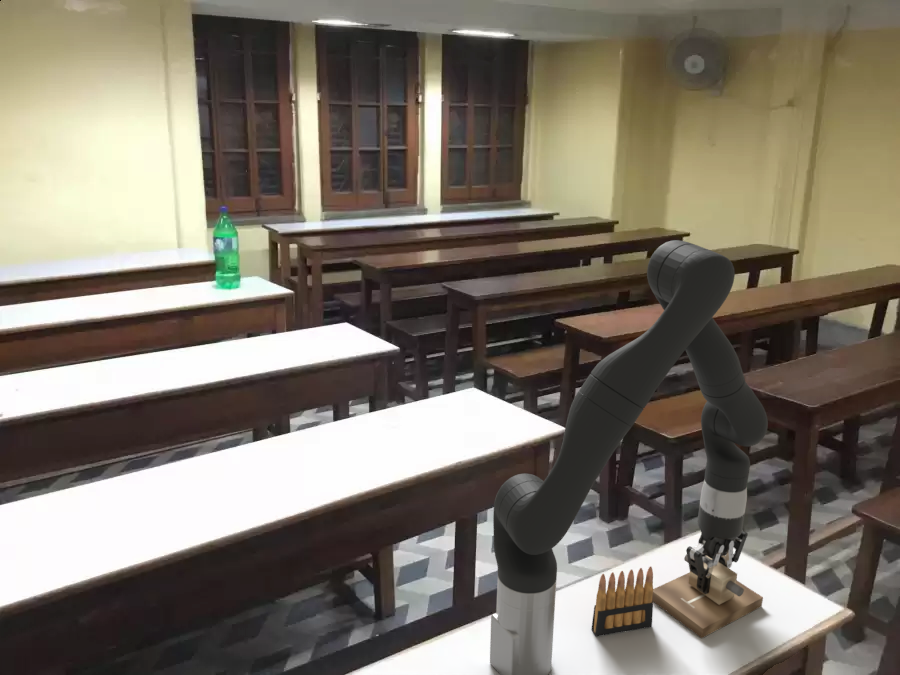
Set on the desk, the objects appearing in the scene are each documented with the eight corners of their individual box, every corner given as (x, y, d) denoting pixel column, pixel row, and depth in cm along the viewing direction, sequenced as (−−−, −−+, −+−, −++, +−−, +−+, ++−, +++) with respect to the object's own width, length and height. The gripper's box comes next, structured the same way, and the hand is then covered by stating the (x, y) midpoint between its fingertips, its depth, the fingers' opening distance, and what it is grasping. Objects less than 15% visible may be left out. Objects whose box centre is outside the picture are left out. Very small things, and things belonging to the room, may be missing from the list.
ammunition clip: (595, 636, 127) (600, 578, 123) (591, 629, 128) (595, 571, 124) (652, 626, 129) (658, 568, 125) (646, 619, 131) (653, 562, 127)
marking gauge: (730, 612, 129) (734, 588, 127) (678, 576, 139) (680, 553, 137) (745, 605, 131) (749, 581, 129) (692, 569, 141) (695, 547, 139)
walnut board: (701, 638, 126) (703, 628, 126) (650, 599, 136) (651, 590, 135) (761, 606, 134) (763, 597, 134) (708, 571, 144) (709, 563, 143)
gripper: (712, 527, 123) (701, 612, 128) (766, 503, 130) (754, 585, 135) (677, 506, 129) (668, 588, 134) (731, 485, 136) (720, 564, 141)
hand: (711, 586), depth 134 cm, fingers closed on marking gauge, 4 cm apart
